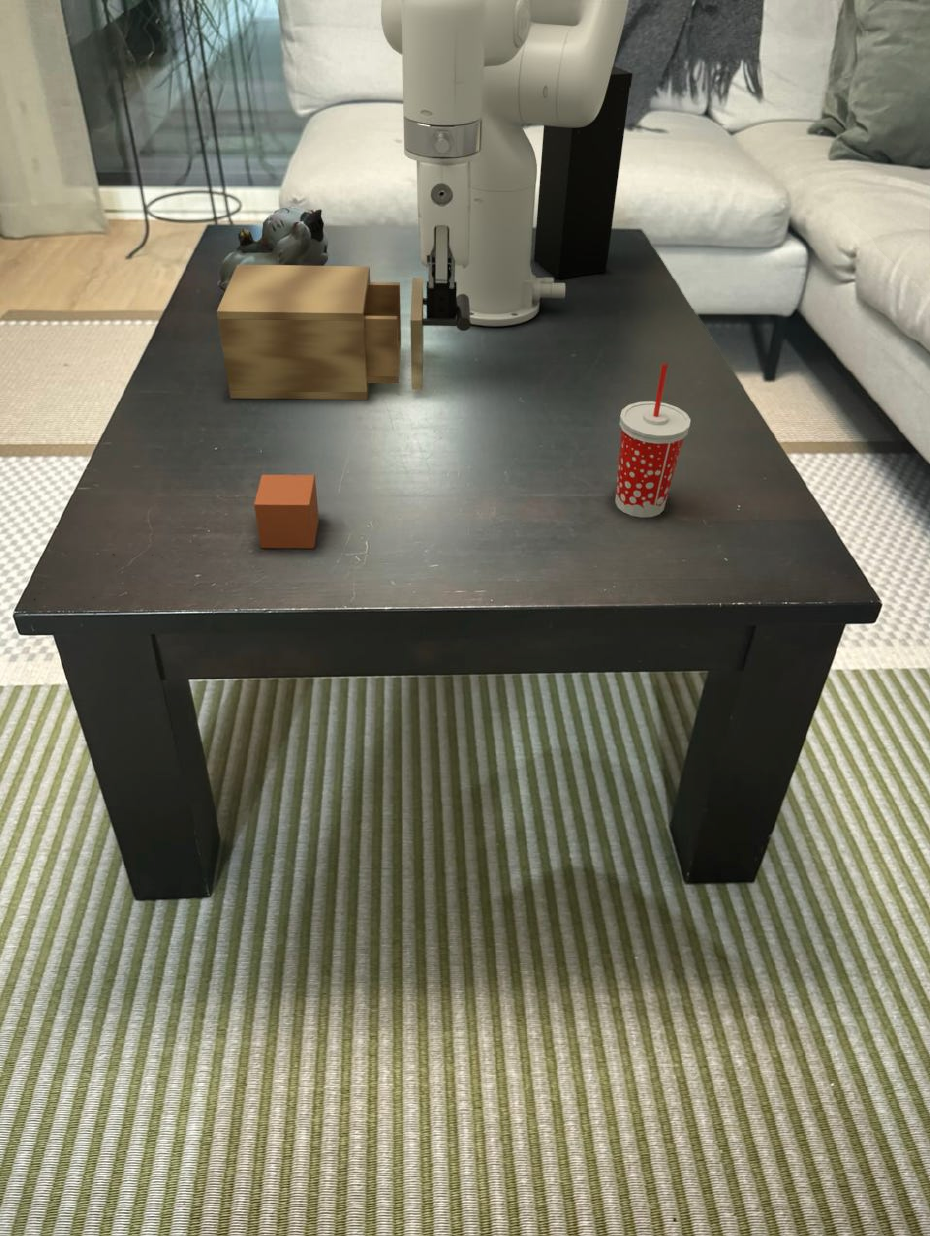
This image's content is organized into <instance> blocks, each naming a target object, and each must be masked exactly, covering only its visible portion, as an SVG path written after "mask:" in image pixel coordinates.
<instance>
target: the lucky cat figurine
mask: <svg viewBox="0 0 930 1236" xmlns="http://www.w3.org/2000/svg"><path fill="white" fill-rule="evenodd" d="M322 212H323V210H322V209H316V210H315V211H314V210H313V209H310V210H309V208H303V207H300V206H294V205H293V206H286V207H285V206H282V207H279V209H276V210H275V211H274V213H272V214H270V215H268V217H266V218H265V219H264V221H263V222H262V229H261V237H260V238H259V240H257V241H255V240H254V238H253V236H252V233H251V231H250V230H248V229H246V228H241V230H240V232H238V233H237V239H238V241H239V246H238V247H236V250H235V251H233V252H231V253H230V252H229V254H228V255H227V256H226V257H225V258H224V259H223V260H222V263H221V265H220V270H219V278H220V280H218V281H217V284H216V285H217V287H219V289H221V290H222V291H223V292H225V291H226V289H227V287H228V285H229V282H230V280H231V278H232V276H233V273H234V271H235V269H236V267H237V265H297V266H326V264H327V262H328V261H329V253H328V247H329V235H328V234H327V232H326V231H325V229H324V227H325V226H324V225H325V223H324V220H323V218H322Z"/></svg>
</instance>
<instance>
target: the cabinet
mask: <svg viewBox="0 0 930 1236" xmlns="http://www.w3.org/2000/svg"><path fill="white" fill-rule="evenodd" d="M369 282H371V266H353V265H351V266H350V265H324V266H297V265H237V267H236V269H235V271H234V273H233V276H232V278H231V280H230V282H229V285H228V287H227V289H226V291H224V294H223V296H222V298H221V299H220V302H219V305H218V307H217V310H216V315H217V322H218V329H219V335H220V341H221V348H222V354H223V361H224V366H225V372H226V373H225V374H226V379H227V384H228V391H229V398H230V399H234V400H235V399H236V400H237V399H240V400H241V399H242V400H245V399H247V400H248V399H249V400H251V399H253V400H331V401H332V400H333V401H338V400H339V401H343V400H344V401H367V400H368V398H369V397H368V395H369V390H370V389H369V388H370V383H367V371H366V351H365V331H364V312H365V305H366V299H367V292H368V285H369Z"/></svg>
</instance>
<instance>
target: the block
mask: <svg viewBox="0 0 930 1236" xmlns="http://www.w3.org/2000/svg"><path fill="white" fill-rule="evenodd" d="M316 483H317V482H316V475H314V474H262V475H261V477H260V480H259V483H258V487H257V492H256V495H255V499H254V503H253V508H254V513H255V519H256V527H257V532H258V533H257V534H258V540H259V545H260V549H314V548H315V543H316V538H317V531H318V525H319V521H320V516H319V515H320V513H319V505H318V494H317V484H316Z"/></svg>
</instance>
